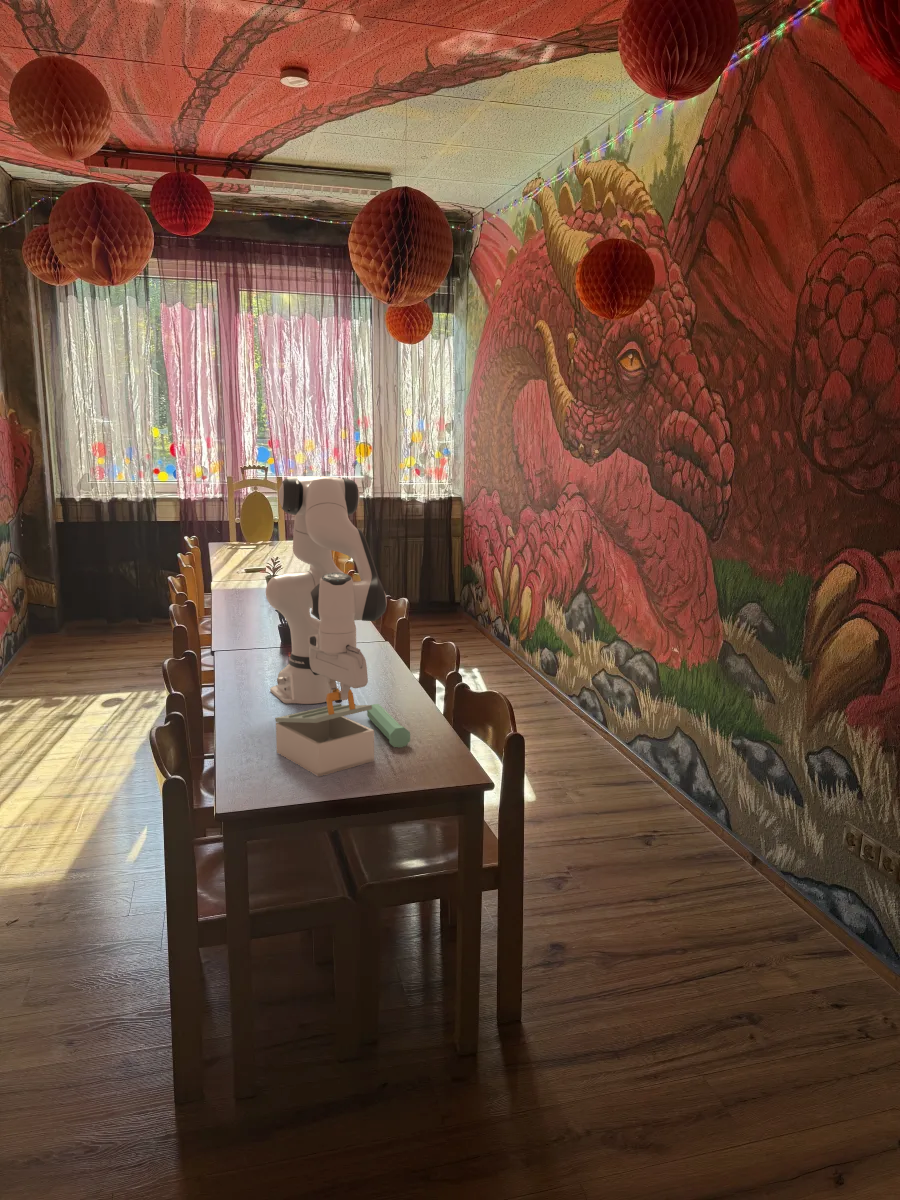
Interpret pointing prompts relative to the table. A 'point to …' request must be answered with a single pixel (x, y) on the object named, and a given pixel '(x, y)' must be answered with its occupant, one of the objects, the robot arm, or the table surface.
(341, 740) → the parts tub
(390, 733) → the green octagonal rod
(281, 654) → the table surface
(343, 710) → the lid
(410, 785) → the table surface
